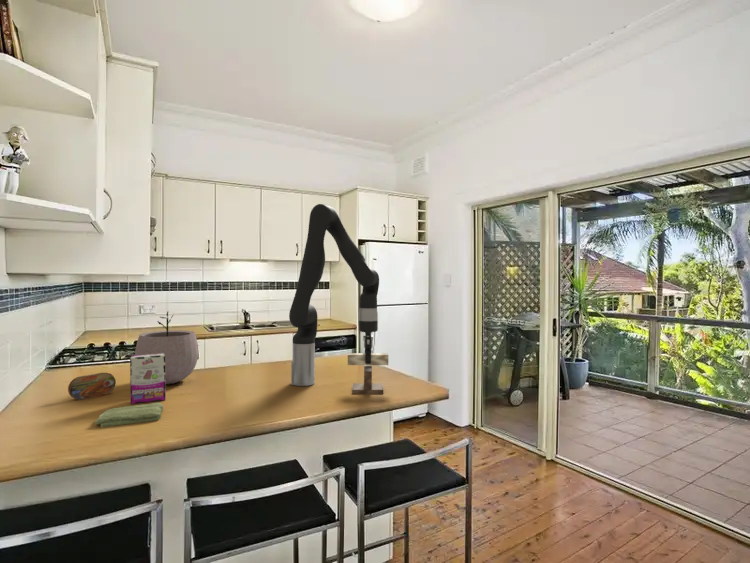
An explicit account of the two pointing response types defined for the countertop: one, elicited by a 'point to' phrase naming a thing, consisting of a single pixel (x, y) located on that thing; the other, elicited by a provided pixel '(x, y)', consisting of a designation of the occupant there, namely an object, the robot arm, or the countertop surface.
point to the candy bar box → (147, 378)
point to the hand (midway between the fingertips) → (368, 362)
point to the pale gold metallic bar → (360, 359)
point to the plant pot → (171, 351)
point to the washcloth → (130, 415)
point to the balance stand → (367, 384)
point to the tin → (91, 386)
